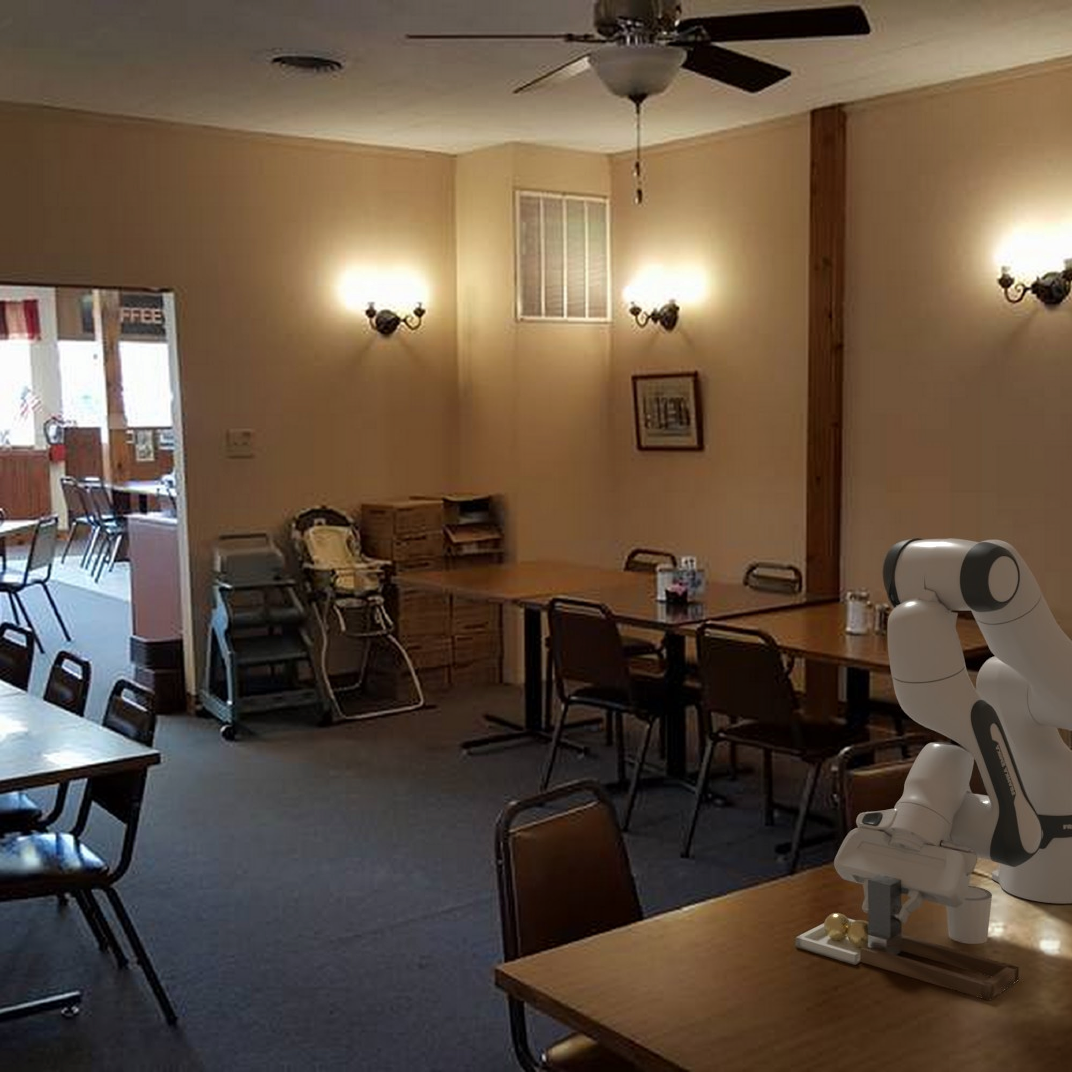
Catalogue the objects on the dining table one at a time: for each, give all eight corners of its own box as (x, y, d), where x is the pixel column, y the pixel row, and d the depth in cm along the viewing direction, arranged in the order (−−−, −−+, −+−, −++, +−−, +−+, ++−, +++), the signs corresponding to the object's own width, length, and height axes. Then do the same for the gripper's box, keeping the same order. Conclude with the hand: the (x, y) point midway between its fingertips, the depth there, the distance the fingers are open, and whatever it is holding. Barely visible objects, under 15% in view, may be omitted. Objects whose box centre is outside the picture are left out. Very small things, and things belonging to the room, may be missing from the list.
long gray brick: (882, 945, 196) (881, 873, 195) (903, 951, 193) (903, 878, 192) (866, 954, 192) (865, 880, 192) (888, 960, 190) (887, 886, 189)
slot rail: (891, 944, 197) (891, 931, 197) (1018, 980, 183) (1018, 966, 183) (860, 961, 191) (860, 948, 191) (989, 1000, 177) (989, 986, 177)
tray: (838, 925, 205) (838, 915, 205) (896, 941, 198) (896, 931, 198) (795, 946, 197) (795, 937, 197) (854, 964, 190) (854, 954, 190)
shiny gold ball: (845, 941, 200) (829, 918, 202) (861, 927, 198) (844, 905, 199) (830, 948, 197) (814, 925, 199) (846, 935, 195) (829, 912, 197)
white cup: (994, 946, 196) (995, 901, 195) (946, 944, 197) (947, 898, 196) (988, 929, 202) (989, 885, 202) (942, 927, 204) (942, 883, 203)
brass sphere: (870, 948, 197) (852, 926, 199) (884, 933, 195) (866, 911, 197) (855, 956, 194) (837, 934, 196) (869, 941, 192) (851, 918, 194)
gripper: (988, 860, 193) (956, 944, 186) (864, 833, 207) (831, 910, 201) (974, 838, 189) (941, 922, 183) (849, 811, 203) (815, 889, 197)
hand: (882, 916), depth 192 cm, fingers closed on long gray brick, 4 cm apart
